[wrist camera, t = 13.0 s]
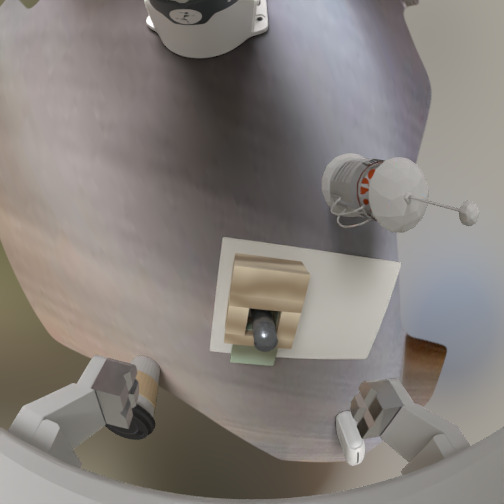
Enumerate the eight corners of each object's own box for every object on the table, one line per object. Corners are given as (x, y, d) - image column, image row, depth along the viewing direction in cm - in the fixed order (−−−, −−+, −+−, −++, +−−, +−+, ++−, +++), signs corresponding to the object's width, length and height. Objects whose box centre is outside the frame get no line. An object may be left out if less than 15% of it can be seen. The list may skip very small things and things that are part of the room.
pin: (251, 296, 42) (256, 331, 33) (271, 298, 43) (280, 333, 33) (249, 312, 43) (252, 350, 34) (267, 314, 44) (275, 352, 34)
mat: (223, 236, 40) (222, 237, 40) (399, 262, 43) (401, 263, 42) (209, 349, 46) (209, 350, 45) (365, 357, 48) (366, 358, 48)
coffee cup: (169, 388, 48) (155, 447, 34) (125, 379, 47) (102, 433, 33) (168, 352, 46) (149, 414, 31) (119, 343, 45) (89, 398, 30)
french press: (389, 196, 39) (513, 235, 16) (332, 236, 41) (431, 317, 17) (360, 141, 37) (487, 128, 13) (298, 180, 38) (390, 202, 14)
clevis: (234, 252, 40) (234, 265, 35) (301, 261, 41) (310, 275, 36) (221, 347, 45) (220, 368, 40) (279, 353, 46) (284, 373, 41)
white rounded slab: (351, 429, 56) (366, 465, 44) (335, 434, 56) (348, 471, 44) (351, 407, 53) (368, 447, 41) (334, 413, 53) (349, 454, 41)
